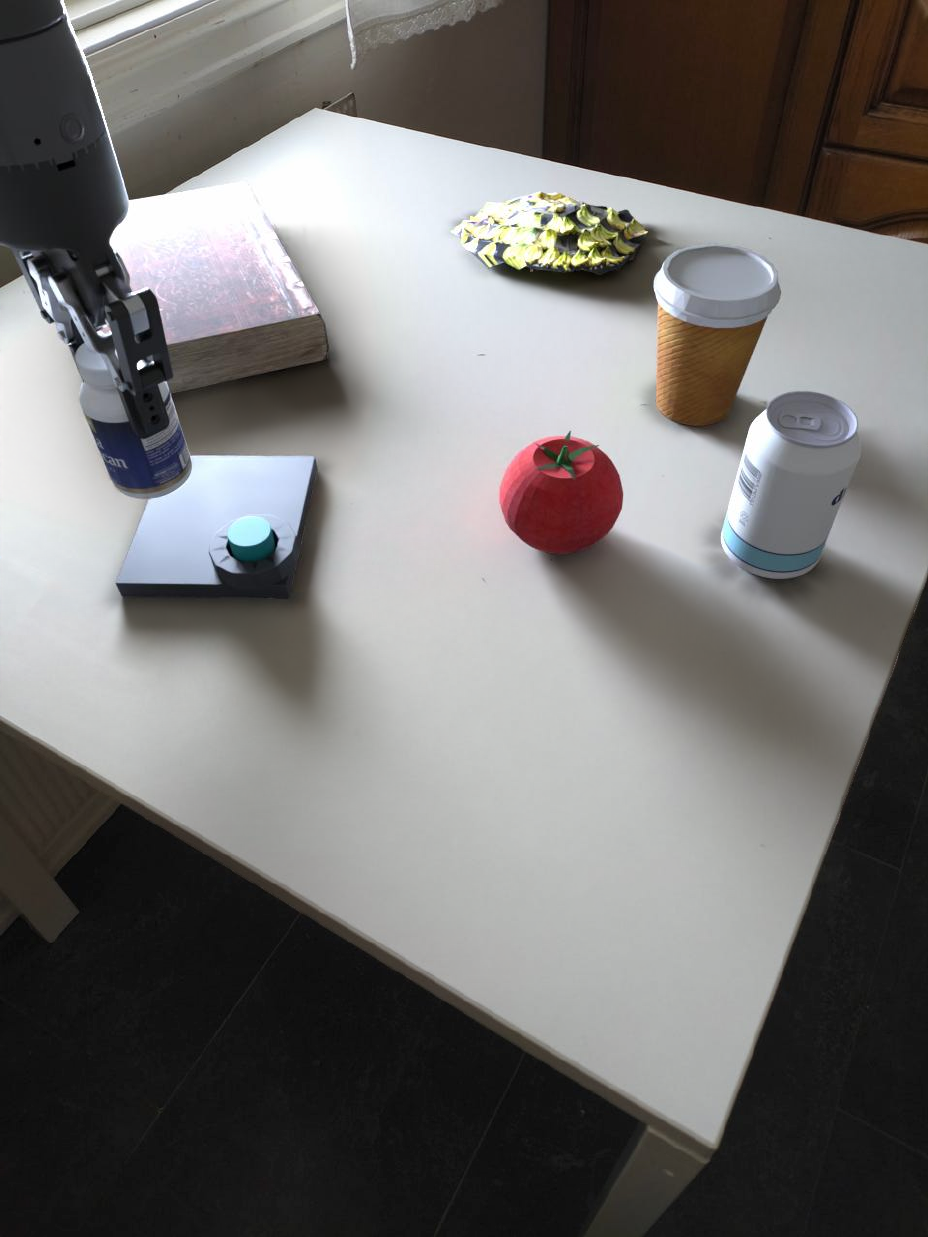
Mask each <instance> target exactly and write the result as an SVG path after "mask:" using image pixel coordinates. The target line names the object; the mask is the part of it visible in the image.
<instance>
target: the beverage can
mask: <svg viewBox="0 0 928 1237" xmlns="http://www.w3.org/2000/svg"><path fill="white" fill-rule="evenodd" d="M752 421H753V422H752V423H751V424H750V426H749V429H748V433H747V437H746V440H745V444H744V448H743V451H742V455H741V458H740V462H739V466H738V470H737V474H736V477H735V481H734V485H733V487H732V488H733V489H732V493H731V495H730V500H729V503H728V507H727V512H726V514H725V517H724V522H723V526H722V529H721V533H720V534H721V535H720V542H721V546H722V549H723V551H724V552H725V554H726V555H727V557H728V558H729V559H730V560H731V561H732V562H733V563H734V564H735V565H736V566H738V567H739V568H741V569H743V570H744V571H746V572H748V573H750V574H753V575H755V576H759V577H763V578H767V579H775V580H784V579H785V580H786V579H792V578H796V577H799V576H803V575H805V574H807V573H809V572H810V571H811V570H812V569H813V568H814V567H815V566H816V565H817V564H818V563H819V560H820V558H821V555H822V553H823V551H824V548H825V545H826V542H827V540H828V537H829V535H830V534H831V530H832V527H833V525H834V522H835V519H836V517H837V515H838V512H839V510H840V507H841V504H842V502H843V500H844V497H845V494H846V492H847V489H848V487H849V484H850V482H851V480H852V476H853V474H854V471H855V469H856V467H857V464H858V462H859V459H860V456H861V451H862V443H861V439H860V435H859V432H858V430H859V420H858V416H857V415H856V413H855V411H854V410H853V409H852V408H851V407H850V406H849V405H847V404H846V403H845V402H843V401H842V400H840V399H838V398H836V397H833V396H831V395H828V394H825V393H822V392H818V391H809V390H794V391H789V392H785V393H781V394H780V395H777V396H776V397H774V398H772V399H771V400H770V401H769V403H768V405H767V406H766V409H765V410H764V411H763V412H761V413H760V414H759V415H758V416H756V418H755V419H754V420H752Z"/></svg>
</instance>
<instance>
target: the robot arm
mask: <svg viewBox="0 0 928 1237" xmlns="http://www.w3.org/2000/svg"><path fill="white" fill-rule="evenodd" d="M78 40H79V39H78V38H77V36H76V34H75V31H74V28H73V26H72V24H71V21H70V18H69V15H68V12H67V9H66V6H65V3H64V0H0V245H1V246H3V247H6V248H9V249H11V251H12V253H13V255H14V256H13V257H15V260H16V262H17V264H18V266H19V268H20V271H21V273H22V275H23V277H24V279H25V281H26V284H27V286H28V288H29V290H30V291H31V294H32V296H33V298H34V300H35V302H36V305H37V307H38V308H39V310H40V311H39V313H40V315H41V317H42V318H43V319H44V320H45V321H46V322H47V324H49V325H50V324H53V323H54V324H55V328H56V331H57V336H58V337H59V339H60V340H61V341H62V342H63V343H64V344H65V345H67V346H68V348H69V350H70V353H71V356H72V359H73V360H74V363H75V365H76V368H77V372H78V373H79V376H80V379H81V381H82V383H83V382H84V380H83V378H82V377H81V375H80V372H79V369H78V366H77V363H76V360H75V354H76V351H77V350H78V348H79V347H80V346H81V345H82V344H84V343H85V344H86V346H87V348H88V349H89V351H91V352H93V353H98V354H100V355H101V357H102V358H103V360H104V362H105V364H106V366H107V368H108V370H109V372H110V374H111V376H112V378H113V382H114V384H115V386H116V387H117V390H118V393H119V396H120V398H121V401H122V404H123V406H124V409H125V412H126V414H127V417H128V420H129V423H130V425H131V428H132V431H133V432H134V433H135V434H136V435H137V436H138V437H140V438H141V439H147V438H149V437H151V436H153V435H155V434H157V433H159V432H161V431H163V430H165V429H166V428H167V427H168V426H169V424H170V420H169V417H168V414H167V411H166V408H165V405H164V402H163V399H162V396H161V392H160V389H159V386H158V384H160V383H162V382H164V381H165V382H166V381H168V380H170V379H172V378H173V372H172V367H171V362H170V357H169V353H168V348H167V343H166V338H165V333H164V329H163V324H162V319H161V314H160V309H159V305H158V301H157V298H156V296H155V295H154V294H153V292H152V291H151V290H150V289H149V288H145V289H143V290H141V291H138V292H136V293H134V292H133V291H132V290H131V287H130V275H129V273H128V271H127V269H126V267H125V264H124V262H123V260H122V258H121V257H120V255H119V254H118V253H117V252H116V251H114V250H113V247H112V246H111V245H110V238H111V236H112V234H113V232H114V230H115V229H116V227H117V226H118V225H119V224H121V223H122V221H123V220H124V219H125V217H126V215H127V213H128V209H129V195H128V193H127V189H126V186H125V182H124V178H123V176H122V172H121V169H120V166H119V163H118V159H117V155H116V152H115V149H114V146H113V142H112V139H111V136H110V132H109V129H108V126H107V122H106V120H105V116H104V113H103V109H102V106H101V103H100V99H99V96H98V92H97V89H96V87H95V83H94V80H93V76H92V73H91V70H90V68H89V65H88V61H87V60H86V56H85V54H84V52H83V49H82V47H81V45H80V43H79V41H78ZM106 324H107V326H108V327H110V330H111V332H109V333H106V334H103V333H102V332H101V331H100V330H102V329H103V326H104V325H106ZM98 331H100V332H98ZM100 335H102V336H100ZM115 349H116V352H117V356H118V358H117V356H116V354H115Z"/></svg>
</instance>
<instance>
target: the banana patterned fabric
mask: <svg viewBox="0 0 928 1237" xmlns="http://www.w3.org/2000/svg"><path fill="white" fill-rule="evenodd" d="M450 232H451V233H452V234H453V235H456V236H457V237H459V238H460V239H461V241H460V242H461V245H462V246H463V247H464V248H465V249H466V250H467V251H468V252H469V253H471V254H472V255H473V256H474V257H475V258H476V259H478V260H479V261H480V262H481V263H482V264H483V265H485V267H487V268H488V269H490V268H492V267H494V266H498V265H502V264H505V263H506V264H507V265H508V266H511V267H512V268H514V269H516V270H518V271H520V270H521V269H523V268H525V267H527V268H530V269H529V271H530V272H533V271H534V270H536V271H538V270H539V271H541V270H542V271H546V272H551V271H552V272H554V273H573V272H574V271H575V270H576V272H578V271H580V270H583V271H585V272H590V273H593V274H596V275H598V276H600V275H603V274H606V273H609V272H610V271H614V272H615V271H617V272H619V271H620V269H621V267H623V266H624V265H625V264H626V263H627V262H629V261H630V262H631V261H633V259H635V255H636V253H637V252H638V250H639V249H640V248H641V247H642V244H643V243H642V241H643V240H644V238H645V237H646V235H647V234H648V233H649V231H648V230H646V227H645V226H644V225H643V224H642V223H640V222H639V221H638V220H636V219H635V217H634V216H633V215H632V214H631V212H630V210H629V209H622V210H619V211H616V210H615V209H614V208H613V207H609V208H608V207H607V206H604V205H593V204H589V203H586V202H584V201H580V200H576V199H574V198H571V197H569V196H566V195H564V194H562V193H560V192H553V193H552V192H551V193H546V192H542V191H538V192H535V193H531V194H528V195H522V196H520V197H519V196H518V197H516V198H513V199H510V200H507V201H506V200H505V201H503V202H486V204H485V206H484V207H483V208H481V210H480V211H479V212H478V213H477V214H476V215H475V216H473V215H470V218H469V220H467V219H464V220H463V221H462V222H461V224H459V225H458V226H455V228H454V230H451V231H450Z"/></svg>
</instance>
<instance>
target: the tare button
mask: <svg viewBox="0 0 928 1237" xmlns="http://www.w3.org/2000/svg"><path fill="white" fill-rule="evenodd" d="M227 537H228V540H229V544H230V547H231V550H232V553H233V555H234V556H235V558H237V559H238V560H240V561H243V562H256V561H258V560H261V559H264V558H266V557H268V556H269V555H270V554H271V553H272V552H273V550H274V548H275V541H274V537H273V533H272V529H271V526H270V524H269V523H268V522H267V521H266V520H265V519H263V518H260V517H246V518H242V519H240V520H238V521H236V522H235V523H233V524H232V525H231V526H230V528H229V530H228V533H227Z"/></svg>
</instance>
